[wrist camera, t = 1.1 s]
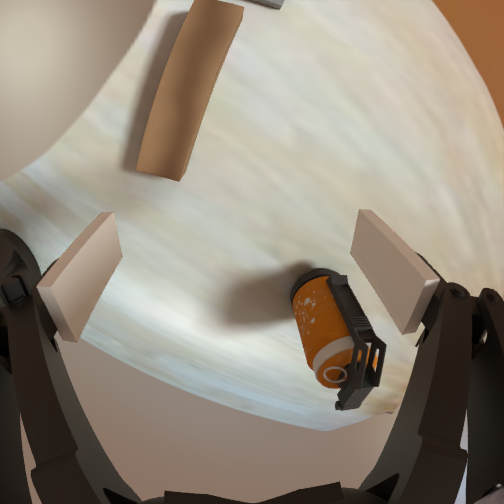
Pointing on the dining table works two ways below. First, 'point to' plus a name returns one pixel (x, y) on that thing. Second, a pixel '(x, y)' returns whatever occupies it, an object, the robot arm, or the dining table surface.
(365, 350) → the canister
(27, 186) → the dining table surface
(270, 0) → the fulcrum
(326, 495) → the robot arm
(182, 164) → the walnut bar
